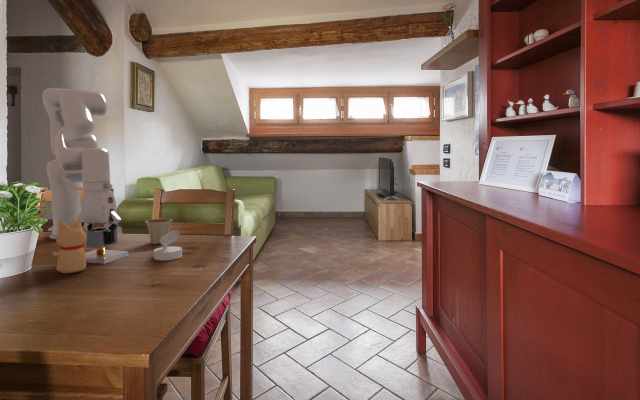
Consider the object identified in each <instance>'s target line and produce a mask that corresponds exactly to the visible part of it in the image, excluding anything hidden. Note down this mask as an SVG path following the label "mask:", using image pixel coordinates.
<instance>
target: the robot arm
mask: <svg viewBox="0 0 640 400" xmlns="http://www.w3.org/2000/svg"><path fill="white" fill-rule="evenodd" d="M42 102H43V103H42V104H43V106H44V109H45V111H46V113H47V115H48V118H49V128H50V129H49V130H50V131H49V132H50V133H49V134H50V135H49V136H50V148H51V152H52V153H53V154H54V155H55V158H56V159H53V160H51V161H49V162H48V163H47V164H46V173H47V178H48V181H49V186H50V187H49V188H50V195H51V209H52V210H54V211H55V212H53V211H52V223H53V225H51V227H49V228H48V229H47V231H48V232H52V234H50V235H49V239H50V238H51V239H50V240H56V238H57V234H58V232H59V230H60V229H59V221H62V222H64V223H65V224H67V225H68V226H72V225H74V223H75V222H76V221H77V220H78V219H79V218H80V219H81V224H82V227H87V228H88V229H92V228H94V225H95V224H101V225H103V226H104V227H105V229H106V231H107V232H105V242H106V244H107V245H108V244H112V243H114V242H115V236H114V231H115V230H116V228H117V229H118V227H119V225H120V224H121V222H122V218H121V217H120V215H118V210H117V209H118V208H117V202H116V197H115V194H114V192H113V191H111V189H112V188H113V184H111V169H110V154H109V153H110V152H109V150H108V149H106V148H102V147H99V142H98V139H97V138H96V136H95V135H94V134H92V132H93V130H94V129H95V122H94V119H93V116H98V117H99V116H100V117H102V116H105V115H106V114H107V112H108V102H107V99H106V98H105V96H104V95H103V94H102V93H101V92H99V91H98V92H97V91H91V90H90V91H89V90H83V89H68V88H59V87H51V88H50V87H49V88H46V89H45V90H43V92H42ZM75 183H76V184H77V183H82V191H81V192H82V193H81V197H80V192H79V190H78V189H77V188H76V187H75V186H73V184H75ZM82 227H81V228H82Z"/></svg>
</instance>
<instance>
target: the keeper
mask: <svg viewBox="0 0 640 400" xmlns="http://www.w3.org/2000/svg"><path fill="white" fill-rule="evenodd" d="M85 255H86V263H89V264H100V265H101V264H103V265H105V264H107V263H111V262H113V261H114V262H115V261H117V260H120V259H123V258H127V257H128V256H129V251H128V250H126V251H125V250H112V249H106V247H102V248H96V249H94V250H90V251H87V252H86V251H85Z"/></svg>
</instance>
